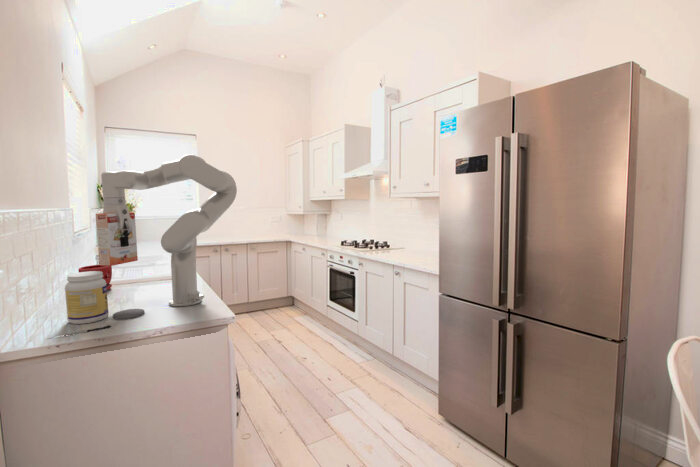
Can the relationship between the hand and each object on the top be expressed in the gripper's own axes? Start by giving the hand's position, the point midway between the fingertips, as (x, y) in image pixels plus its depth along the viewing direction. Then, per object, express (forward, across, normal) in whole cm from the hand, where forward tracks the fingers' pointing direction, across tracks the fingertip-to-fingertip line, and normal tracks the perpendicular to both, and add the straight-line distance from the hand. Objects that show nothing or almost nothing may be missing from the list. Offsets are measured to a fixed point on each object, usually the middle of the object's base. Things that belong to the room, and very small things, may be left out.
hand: (118, 245), depth 149 cm
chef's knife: (+25, -15, +30) cm, 42 cm away
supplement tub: (+25, -5, +18) cm, 31 cm away
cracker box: (+7, 0, 0) cm, 7 cm away
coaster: (+25, -15, +10) cm, 31 cm away
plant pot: (+24, +34, -15) cm, 44 cm away
